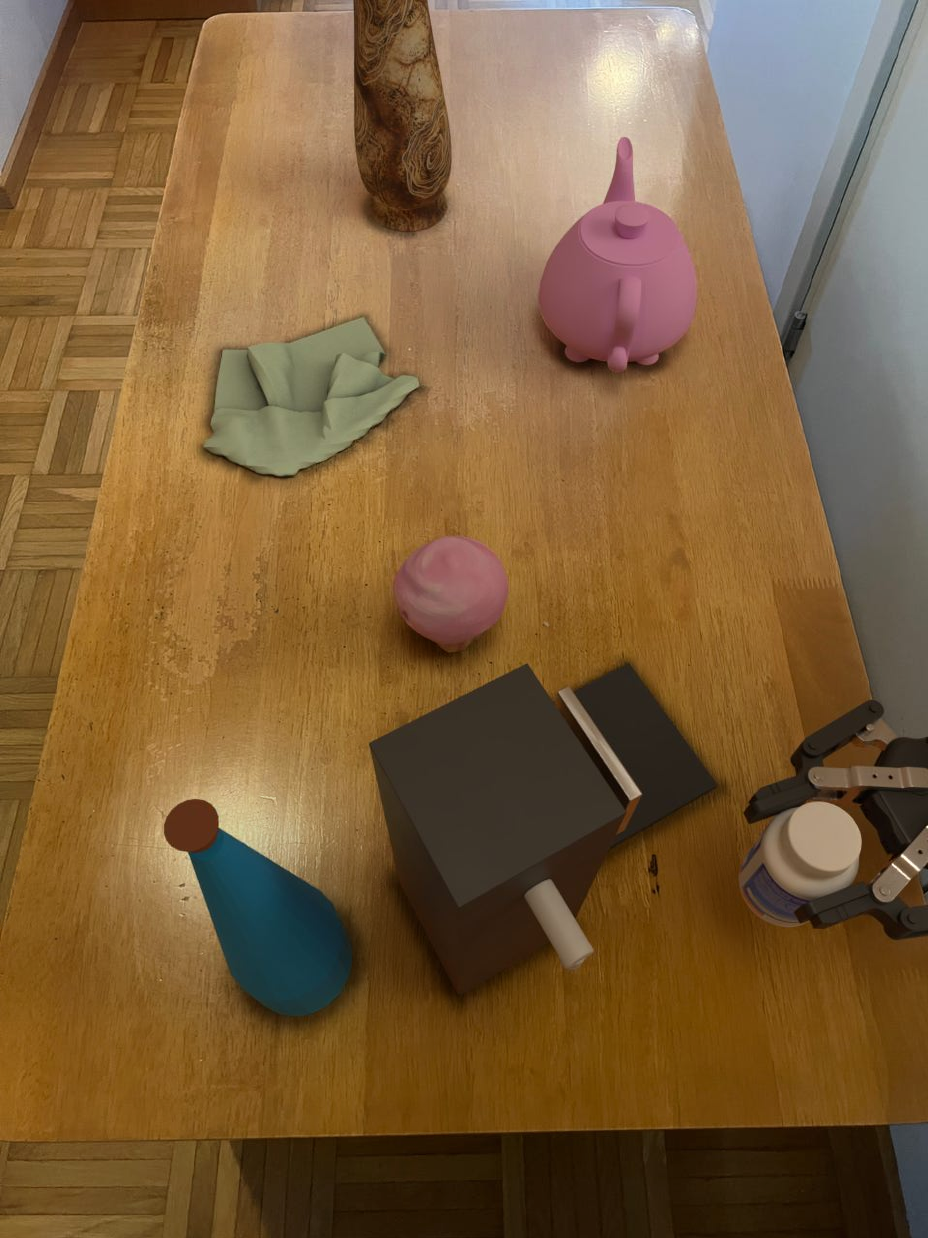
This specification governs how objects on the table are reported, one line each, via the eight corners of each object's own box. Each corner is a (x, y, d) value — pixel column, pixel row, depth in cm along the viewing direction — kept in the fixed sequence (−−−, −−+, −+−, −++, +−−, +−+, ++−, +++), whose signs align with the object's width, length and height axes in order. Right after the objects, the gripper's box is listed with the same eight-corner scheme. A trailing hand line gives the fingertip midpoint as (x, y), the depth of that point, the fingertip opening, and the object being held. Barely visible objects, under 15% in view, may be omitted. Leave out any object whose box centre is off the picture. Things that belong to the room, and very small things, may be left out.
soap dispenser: (601, 984, 64) (679, 890, 42) (488, 1054, 62) (505, 995, 39) (505, 822, 70) (527, 662, 47) (398, 881, 67) (368, 742, 45)
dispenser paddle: (624, 830, 52) (643, 794, 47) (613, 837, 52) (630, 801, 47) (558, 729, 55) (568, 684, 50) (547, 735, 55) (556, 691, 50)
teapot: (537, 249, 102) (547, 130, 90) (679, 255, 102) (708, 135, 90) (533, 398, 91) (545, 284, 79) (693, 405, 91) (728, 292, 79)
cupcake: (456, 567, 81) (456, 497, 72) (526, 631, 78) (534, 566, 69) (378, 627, 78) (367, 561, 69) (447, 696, 75) (445, 636, 66)
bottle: (328, 888, 67) (238, 716, 41) (370, 983, 64) (301, 864, 38) (232, 936, 66) (73, 790, 39) (270, 1037, 62) (124, 951, 36)
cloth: (183, 470, 86) (176, 453, 84) (238, 307, 97) (233, 288, 95) (400, 490, 85) (398, 473, 83) (431, 323, 96) (430, 305, 94)
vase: (451, 236, 103) (448, -73, 77) (355, 236, 103) (320, -73, 77) (452, 178, 108) (449, -130, 82) (361, 177, 108) (329, -131, 82)
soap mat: (716, 787, 71) (718, 785, 71) (584, 863, 68) (585, 861, 68) (627, 665, 76) (629, 662, 76) (501, 731, 73) (502, 728, 73)
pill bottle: (830, 929, 58) (888, 885, 49) (743, 929, 58) (786, 886, 50) (813, 843, 61) (865, 788, 52) (730, 843, 61) (768, 789, 52)
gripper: (986, 640, 55) (731, 725, 53) (1150, 867, 48) (866, 979, 46) (931, 695, 62) (701, 773, 59) (1070, 902, 55) (817, 1003, 52)
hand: (775, 863), depth 52 cm, fingers closed on pill bottle, 5 cm apart
